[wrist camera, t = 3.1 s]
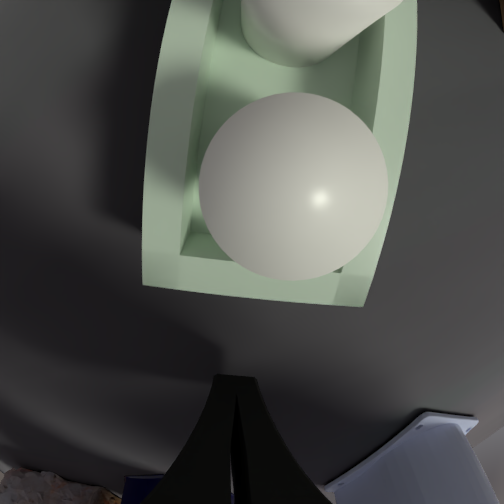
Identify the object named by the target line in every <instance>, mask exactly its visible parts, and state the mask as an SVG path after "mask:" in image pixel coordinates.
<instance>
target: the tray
mask: <svg viewBox="0 0 504 504" xmlns="http://www.w3.org/2000/svg"><path fill="white" fill-rule="evenodd" d="M416 44H417V0H172V2H171V6H170V10H169V14H168V18H167V22H166V26H165V31H164V36H163V40H162V45H161V50H160V55H159V61H158V66H157V72H156V78H155V84H154V91H153V98H152V105H151V113H150V121H149V129H148V139H147V149H146V161H145V175H144V191H143V216H142V283H143V285H147V286H154V287H162V288H169V289H177V290H185V291H192V292H201V293H209V294H218V295H227V296H236V297H245V298H255V299H265V300H276V301H287V302H299V303H311V304H324V305H339V306H354V307H363V305H364V303H365V300H366V297H367V294H368V291H369V288H370V285H371V282H372V279H373V276H374V272H375V269H376V266H377V263H378V259H379V256H380V253H381V249H382V246H383V242H384V239H385V235H386V231H387V228H388V224H389V220H390V216H391V212H392V208H393V204H394V199H395V195H396V191H397V186H398V182H399V177H400V172H401V167H402V162H403V156H404V151H405V145H406V139H407V133H408V126H409V119H410V112H411V104H412V96H413V86H414V75H415V62H416Z"/></svg>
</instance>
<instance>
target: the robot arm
mask: <svg viewBox="0 0 504 504" xmlns="http://www.w3.org/2000/svg"><path fill="white" fill-rule="evenodd" d="M478 421H479V420H478V419H477V417H468V416H458V415H450V414H442V413H434V412H425V413H423V414H421V415H420V416H418V417H417V418H416V419H415V420H414V421H413V422H412V423H411V424H409V425H408V426H407V427H406V428H405V429H404V430H402V431H401V432H400V433H399V434H398V435H396V436H395V437H394V438H393V439H392V440H390V441H389V442H388V443H387V444H385V445H384V446H383V447H381V448H380V449H379V450H377V451H376V452H375V453H373V454H372V455H371V456H369V457H368V458H367V459H365V460H364V461H362V462H361V463H360V464H358V465H357V466H355V467H354V468H352V469H351V470H349V471H348V472H346V473H345V474H343V475H342V476H340V477H338V478H337V479H335V480H334V481H332V482H330V483H329V484H327V485H326V486H325V487H324V489H325V491H326V492H334V494H335V499H336V503H337V504H499V501H498V499H497V497H496V495H495V493H494V491H493V488H492V486H491V484H490V482H489V480H488V478H487V476H486V474H485V472H484V470H483V468H482V466H481V464H480V462H479V460H478V458H477V456H476V454H475V453H474V451H473V449H472V447H471V445H470V443H469V442H468V440H467V438H466V436H465V435H466V434H467V433H468V432H469V431H470V430H471V429H472V428H473V427H474V426H475V425H476V424H477V423H478ZM230 454H231V466H232V477H233V488H234V504H332V503H331V502H330V501H329V500H328V499H327V498H326V497H325V496H324V495H323V494H322V493H321V491H320V490H319V489H318V488H317V487H316V486H315V485H314V484H313V482H312V481H311V480H310V479H309V478H308V476H307V475H306V474H305V472H304V471H303V470H302V468H301V467H300V466H299V464H298V463H297V461H296V460H295V459H294V457H293V456H292V454H291V452H290V451H289V449H288V448H287V446H286V444H285V443H284V441H283V439H282V437H281V436H280V434H279V432H278V430H277V428H276V426H275V424H274V422H273V420H272V418H271V416H270V414H269V412H268V410H267V407H266V405H265V402H264V400H263V397H262V395H261V392H260V389H259V386H258V382H257V379H256V378H255V377H246V376H233V375H222V374H217V375H215V376H214V378H213V384H212V387H211V391H210V394H209V397H208V399H207V402H206V405H205V407H204V409H203V411H202V414H201V416H200V418H199V420H198V422H197V424H196V426H195V428H194V430H193V432H192V434H191V435H190V437H189V439H188V441H187V442H186V444H185V446H184V448H183V449H182V451H181V452H180V454H179V455H178V457H177V458H176V460H175V461H174V463H173V464H172V466H171V467H170V468H169V470H168V471H167V472H166V474H165V475H164V476H163V478H162V479H161V480H160V481H159V483H158V484H157V485H156V486H155V487H154V489H153V490H152V491H151V492H150V493H149V494H148V495H147V496H146V497H145V499H144V500H143V501H142V502H141V503H140V504H231V480H230Z"/></svg>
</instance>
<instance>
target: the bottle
mask: <svg viewBox="0 0 504 504" xmlns="http://www.w3.org/2000/svg"><path fill="white" fill-rule="evenodd" d="M163 476H164V475H163V474H160V475H143V476H125V486H124V490H123V495H122V500H121V504H140V503H141V502H142V501H143V500H144V499H145V497H146V496H147V495H148V494H149V493H150V492H151V491H152V490H153V489H154V487H155V486H156V485H157V484H158V483H159V481H160V480H161V479H162V478H163ZM231 504H234V494H232V493H231Z"/></svg>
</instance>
